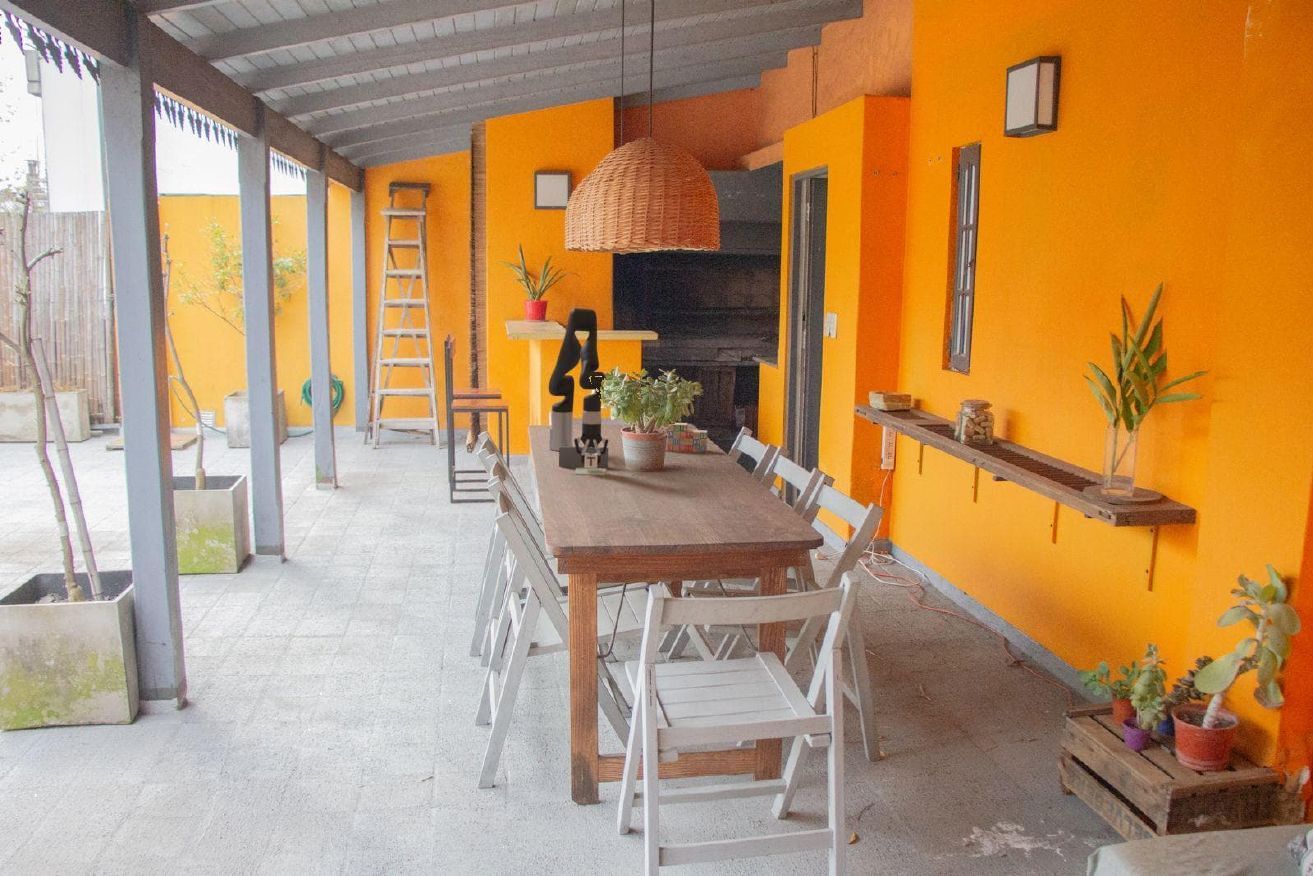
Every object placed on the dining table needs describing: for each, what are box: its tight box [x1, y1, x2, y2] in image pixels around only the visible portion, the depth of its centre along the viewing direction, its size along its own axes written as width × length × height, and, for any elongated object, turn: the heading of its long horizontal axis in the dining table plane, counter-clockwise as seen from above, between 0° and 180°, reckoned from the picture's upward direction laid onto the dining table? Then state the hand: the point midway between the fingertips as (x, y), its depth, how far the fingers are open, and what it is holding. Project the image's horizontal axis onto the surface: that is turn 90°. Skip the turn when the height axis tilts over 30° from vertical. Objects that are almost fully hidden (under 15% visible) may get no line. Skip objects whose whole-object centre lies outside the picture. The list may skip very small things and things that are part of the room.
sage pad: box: [574, 467, 607, 476], centre depth 403 cm, size 12×12×1 cm
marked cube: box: [583, 453, 598, 468], centre depth 402 cm, size 5×5×5 cm
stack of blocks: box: [666, 422, 708, 453], centre depth 459 cm, size 21×6×12 cm, turn 85°
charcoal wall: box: [558, 446, 609, 468], centre depth 413 cm, size 20×2×8 cm, turn 93°
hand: (590, 464), depth 402 cm, fingers closed on marked cube, 5 cm apart
